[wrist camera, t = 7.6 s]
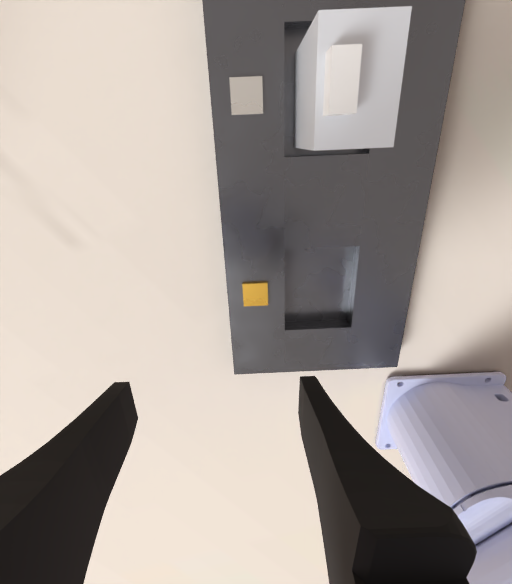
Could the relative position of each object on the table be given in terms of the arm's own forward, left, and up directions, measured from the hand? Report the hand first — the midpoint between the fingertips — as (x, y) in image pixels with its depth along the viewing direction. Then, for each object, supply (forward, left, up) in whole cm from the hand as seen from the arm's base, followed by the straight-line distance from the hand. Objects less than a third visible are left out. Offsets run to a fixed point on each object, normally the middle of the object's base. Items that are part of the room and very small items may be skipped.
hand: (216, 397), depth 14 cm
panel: (-6, -6, -10) cm, 13 cm away
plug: (-6, -12, -10) cm, 16 cm away
